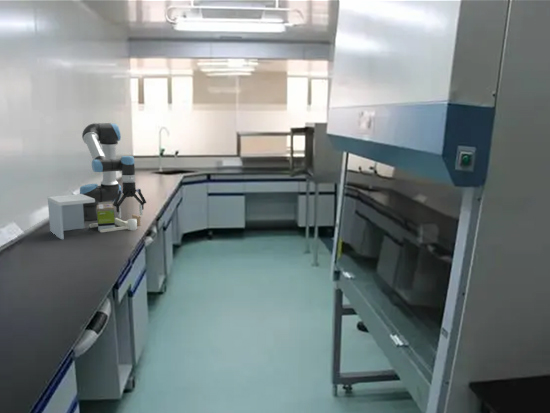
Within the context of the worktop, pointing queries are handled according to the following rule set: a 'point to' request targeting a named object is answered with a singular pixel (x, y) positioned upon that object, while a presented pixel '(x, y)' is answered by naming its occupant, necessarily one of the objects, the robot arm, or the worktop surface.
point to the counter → (67, 212)
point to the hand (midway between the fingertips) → (130, 216)
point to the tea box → (105, 216)
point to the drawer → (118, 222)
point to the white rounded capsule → (132, 224)
